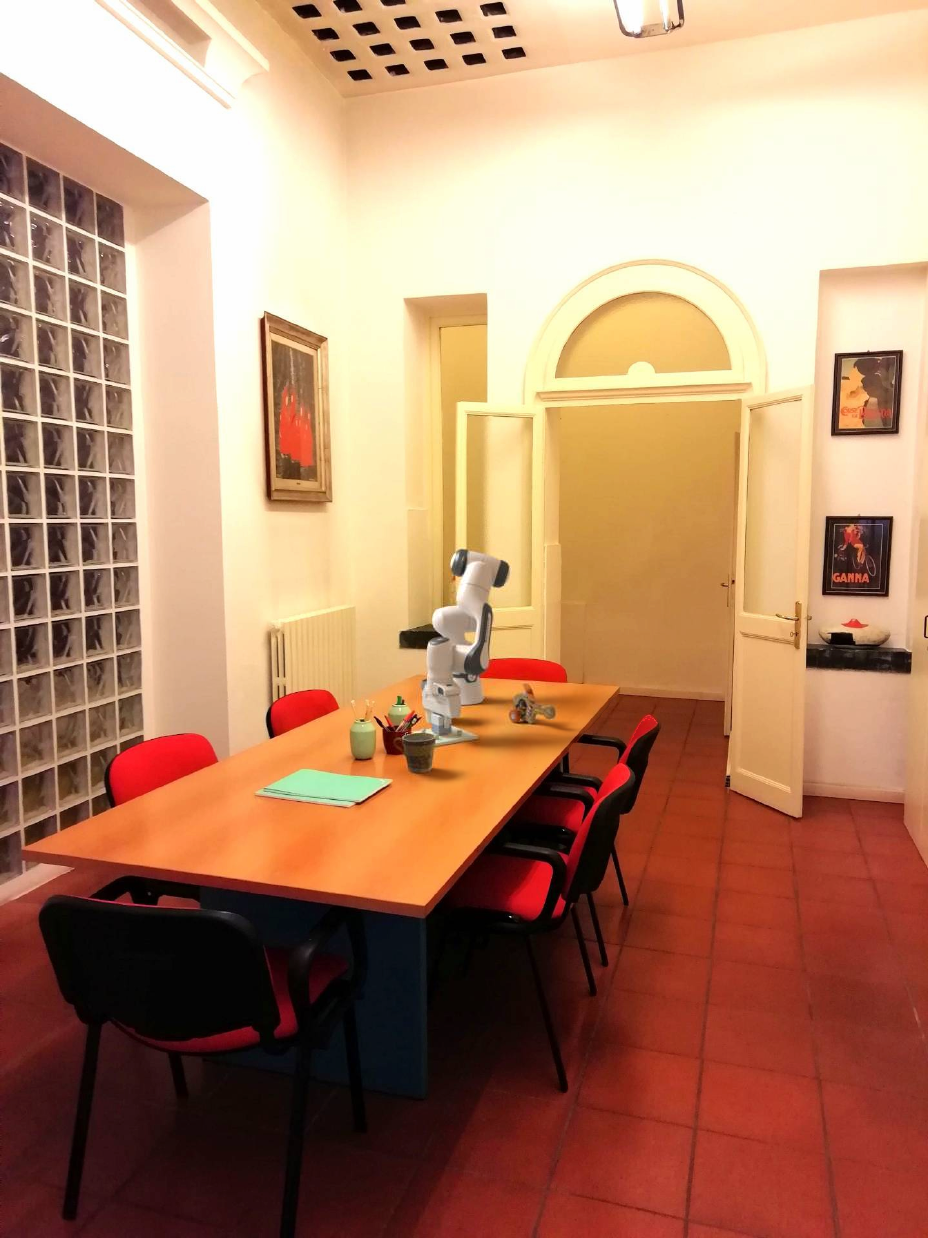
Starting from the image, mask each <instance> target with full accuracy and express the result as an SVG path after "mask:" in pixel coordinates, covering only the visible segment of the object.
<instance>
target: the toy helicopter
mask: <svg viewBox="0 0 928 1238" xmlns="http://www.w3.org/2000/svg"><path fill="white" fill-rule="evenodd" d="M522 687H523V689H524V691H523V692H520V693H516V694H515V695H514V697H513V699H512V705H513V707H512V708H513V709H510V710H509V712H508V718H509V720H510V722H512V723H513V724H516V723H519V722H520V721H521V720H522V721H524V722H527V723H528V724H530V725H532V724H536V717H537V715H539V716H544V718H545V719H547V720H552V719H555V717H556V714H557V713H556V709H555V707H554V706H553V705H551V704H549V705H545V706H544V705H542V704H538V703H537V702H536V697H535V696H536V695H535V694H534V691H533V689H532V687H531V685H530V684H529V683H522Z"/></svg>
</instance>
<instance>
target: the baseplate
mask: <svg viewBox="0 0 928 1238" xmlns="http://www.w3.org/2000/svg"><path fill="white" fill-rule="evenodd" d="M451 726H452V732H451V733H445V734H436V733H434V732H432V731H431V728H428V729H427V728H421V729H420V730H416V731H415V730H414V731H412V732H413V733H430V734H433V735H435V736H436V742H435V747H441V746H444V745H450V744H455V743H461V742H467V741H473V740H478V739H479V735H477V734H474V733H473V732H472V733H471V732H470V731H467V730H464V729H462V728H458V727H456V726H453V725H451Z"/></svg>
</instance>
